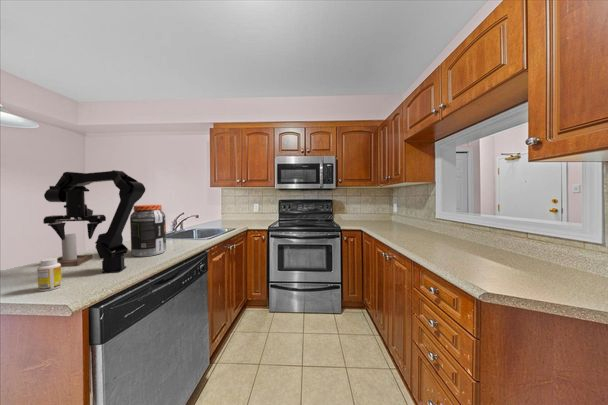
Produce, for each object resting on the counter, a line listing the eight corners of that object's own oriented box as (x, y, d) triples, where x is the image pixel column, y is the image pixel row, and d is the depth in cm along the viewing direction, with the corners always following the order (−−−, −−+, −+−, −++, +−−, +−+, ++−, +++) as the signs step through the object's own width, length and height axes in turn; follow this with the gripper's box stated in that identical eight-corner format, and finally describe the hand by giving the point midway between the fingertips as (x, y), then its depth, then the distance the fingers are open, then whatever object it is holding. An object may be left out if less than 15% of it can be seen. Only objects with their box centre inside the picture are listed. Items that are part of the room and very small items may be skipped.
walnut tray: (92, 258, 118) (92, 254, 118) (77, 265, 107) (77, 261, 107) (62, 260, 115) (62, 256, 115) (43, 268, 103) (43, 263, 103)
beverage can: (64, 262, 108) (62, 236, 107) (61, 260, 110) (59, 234, 110) (78, 259, 112) (77, 234, 111) (75, 258, 114) (74, 233, 114)
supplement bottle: (61, 283, 86) (59, 256, 86) (62, 288, 83) (61, 258, 82) (38, 288, 82) (36, 259, 82) (38, 293, 79) (37, 262, 78)
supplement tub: (172, 252, 131) (171, 205, 129) (140, 259, 118) (138, 206, 116) (157, 248, 139) (155, 203, 138) (125, 254, 126) (124, 205, 125)
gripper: (111, 201, 111) (112, 234, 111) (60, 201, 105) (62, 236, 106) (98, 202, 100) (99, 239, 101) (41, 202, 95) (43, 242, 95)
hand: (76, 239), depth 101 cm, fingers open, 9 cm apart
